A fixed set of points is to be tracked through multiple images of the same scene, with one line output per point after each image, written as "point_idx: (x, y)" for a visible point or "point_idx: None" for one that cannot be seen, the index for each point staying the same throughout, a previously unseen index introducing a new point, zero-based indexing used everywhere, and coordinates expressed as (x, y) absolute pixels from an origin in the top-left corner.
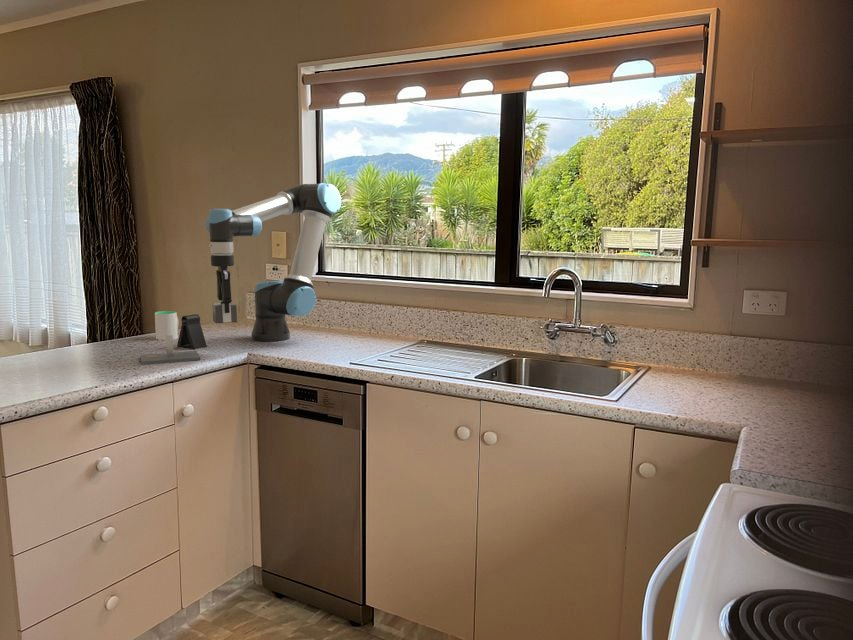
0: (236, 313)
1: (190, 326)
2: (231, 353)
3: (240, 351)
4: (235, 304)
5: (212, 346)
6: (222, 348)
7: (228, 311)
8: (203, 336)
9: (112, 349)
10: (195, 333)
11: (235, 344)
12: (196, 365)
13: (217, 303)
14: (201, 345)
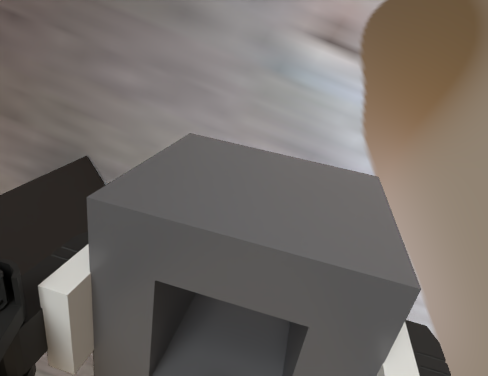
0: (391, 219)
1: (23, 263)
2: (278, 121)
3: (253, 61)
4: (335, 268)
5: (84, 131)
6: (143, 111)
7: (435, 352)
8: (45, 178)
9: (45, 373)
10: (50, 225)
11: (68, 16)
12: (432, 327)
13: (113, 370)
14: (94, 183)
